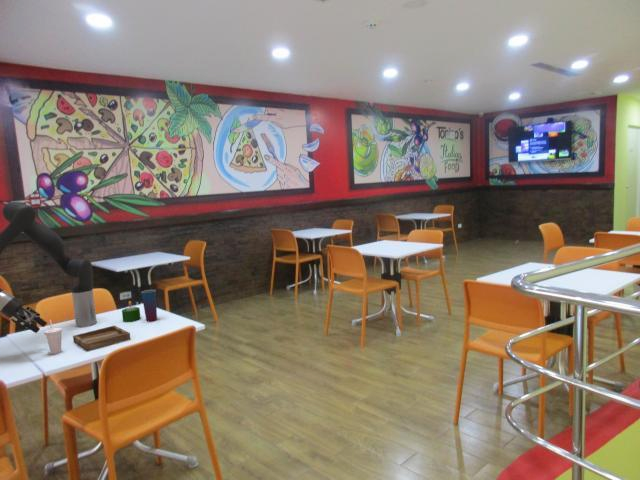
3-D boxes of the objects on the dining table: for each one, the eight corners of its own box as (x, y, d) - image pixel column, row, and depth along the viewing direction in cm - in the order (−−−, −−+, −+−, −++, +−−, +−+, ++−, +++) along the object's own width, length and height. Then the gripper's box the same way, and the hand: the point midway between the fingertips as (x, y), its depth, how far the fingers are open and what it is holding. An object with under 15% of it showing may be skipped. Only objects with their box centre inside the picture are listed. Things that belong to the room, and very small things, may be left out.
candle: (136, 322, 228) (134, 302, 227) (120, 322, 228) (118, 303, 227) (143, 317, 236) (141, 298, 235) (127, 317, 236) (125, 299, 235)
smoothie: (52, 350, 193) (47, 318, 191) (67, 349, 193) (63, 317, 191) (44, 356, 186) (39, 322, 184) (60, 354, 187) (56, 321, 185)
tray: (73, 342, 202) (72, 335, 201) (115, 331, 214) (114, 325, 214) (87, 351, 189) (86, 344, 188) (130, 339, 201) (129, 332, 201)
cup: (154, 322, 225) (150, 292, 223) (141, 322, 226) (138, 293, 225) (161, 318, 232) (158, 289, 230) (149, 318, 233) (146, 289, 231)
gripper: (5, 301, 177) (42, 326, 181) (20, 293, 190) (53, 316, 194) (-8, 316, 176) (29, 340, 180) (7, 306, 190) (41, 329, 194)
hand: (42, 328), depth 187 cm, fingers open, 8 cm apart
